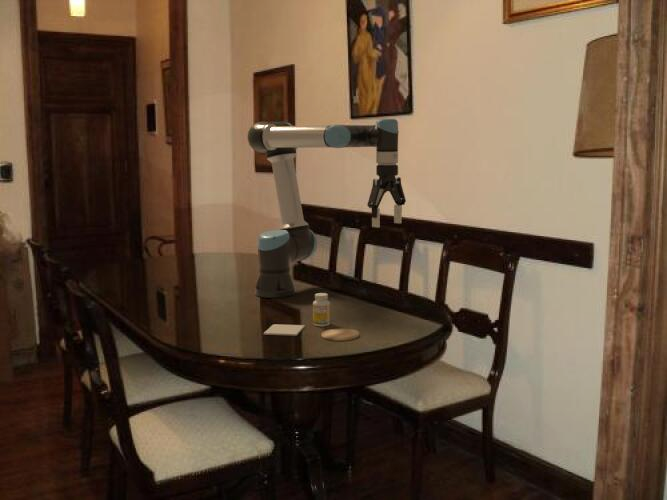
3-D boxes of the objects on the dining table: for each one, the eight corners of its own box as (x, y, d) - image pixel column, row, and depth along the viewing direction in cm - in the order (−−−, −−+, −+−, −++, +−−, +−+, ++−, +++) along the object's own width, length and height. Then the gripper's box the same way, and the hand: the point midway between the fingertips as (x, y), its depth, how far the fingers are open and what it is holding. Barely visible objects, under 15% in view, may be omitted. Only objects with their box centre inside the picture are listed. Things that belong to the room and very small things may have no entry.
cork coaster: (315, 339, 199) (315, 337, 199) (329, 329, 209) (329, 327, 209) (351, 342, 195) (351, 340, 195) (364, 332, 205) (364, 330, 205)
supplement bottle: (322, 327, 211) (322, 297, 209) (309, 325, 214) (308, 294, 213) (334, 324, 215) (333, 293, 213) (321, 321, 218) (320, 291, 217)
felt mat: (263, 334, 205) (263, 332, 204) (273, 325, 214) (273, 324, 214) (296, 335, 202) (296, 334, 202) (304, 326, 212) (304, 325, 212)
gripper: (375, 165, 228) (375, 229, 231) (415, 163, 247) (415, 222, 250) (357, 165, 232) (357, 228, 236) (398, 162, 252) (397, 220, 255)
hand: (387, 225), depth 243 cm, fingers open, 13 cm apart
